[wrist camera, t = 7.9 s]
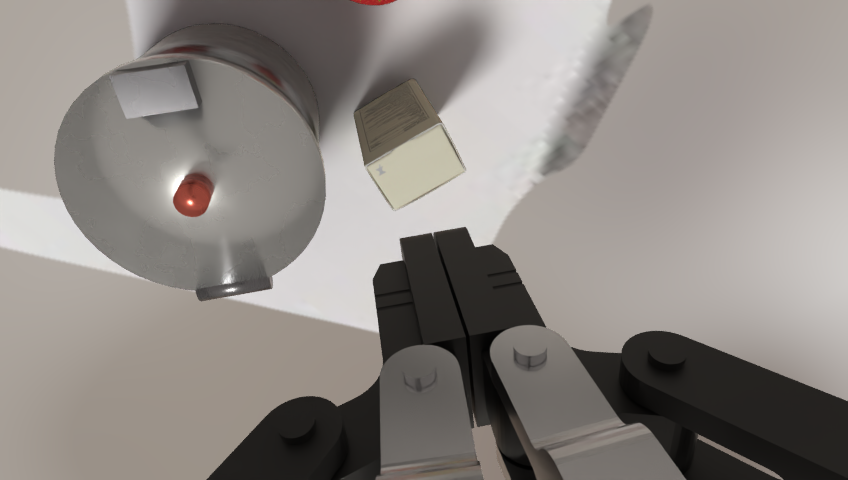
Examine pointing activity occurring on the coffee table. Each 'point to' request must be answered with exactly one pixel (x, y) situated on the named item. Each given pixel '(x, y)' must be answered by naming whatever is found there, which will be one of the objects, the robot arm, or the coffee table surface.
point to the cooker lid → (191, 174)
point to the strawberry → (373, 2)
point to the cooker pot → (247, 60)
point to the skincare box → (406, 145)
